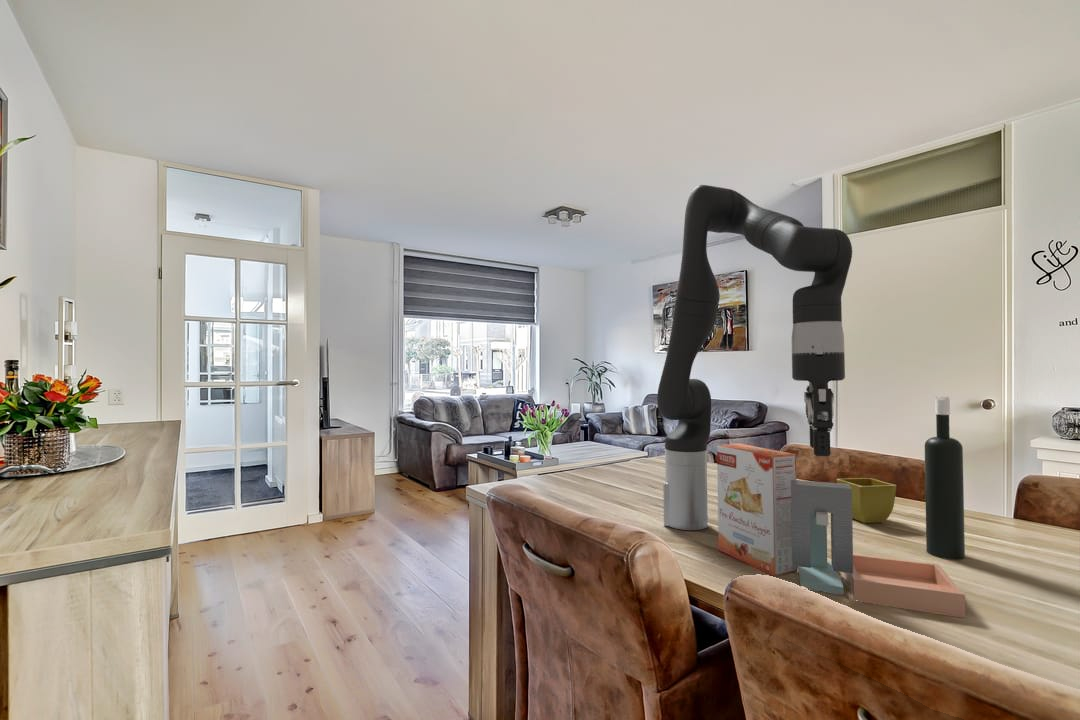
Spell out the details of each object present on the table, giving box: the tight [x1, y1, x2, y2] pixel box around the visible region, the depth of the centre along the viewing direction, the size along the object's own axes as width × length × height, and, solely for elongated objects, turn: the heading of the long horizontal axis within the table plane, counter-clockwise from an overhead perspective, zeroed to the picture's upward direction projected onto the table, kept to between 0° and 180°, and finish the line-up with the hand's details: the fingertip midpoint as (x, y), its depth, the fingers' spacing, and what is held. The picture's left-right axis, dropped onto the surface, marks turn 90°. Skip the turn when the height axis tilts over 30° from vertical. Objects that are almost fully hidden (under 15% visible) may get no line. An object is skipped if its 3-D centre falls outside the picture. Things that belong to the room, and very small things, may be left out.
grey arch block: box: [791, 479, 854, 574], centre depth 83 cm, size 8×4×13 cm, turn 66°
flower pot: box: [836, 477, 897, 524], centre depth 121 cm, size 9×9×9 cm
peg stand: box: [797, 511, 845, 596], centre depth 86 cm, size 6×14×13 cm, turn 156°
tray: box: [843, 553, 966, 619], centre depth 82 cm, size 14×13×3 cm
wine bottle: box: [924, 396, 966, 561], centre depth 99 cm, size 6×6×30 cm
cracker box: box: [716, 442, 798, 577], centre depth 96 cm, size 14×6×21 cm, turn 22°
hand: (819, 451), depth 84 cm, fingers open, 8 cm apart
